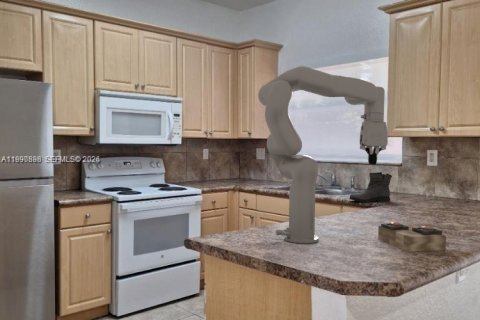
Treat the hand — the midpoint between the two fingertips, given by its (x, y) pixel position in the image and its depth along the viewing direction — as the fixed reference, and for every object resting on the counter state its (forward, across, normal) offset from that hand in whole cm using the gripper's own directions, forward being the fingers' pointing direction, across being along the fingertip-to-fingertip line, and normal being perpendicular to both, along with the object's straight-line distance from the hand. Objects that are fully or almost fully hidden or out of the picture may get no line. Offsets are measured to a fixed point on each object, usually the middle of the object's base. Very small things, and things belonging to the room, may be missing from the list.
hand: (372, 164), depth 171 cm
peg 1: (+28, +3, -13) cm, 31 cm away
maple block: (+28, +7, -18) cm, 34 cm away
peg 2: (+28, +10, -22) cm, 37 cm away
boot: (+28, +47, +98) cm, 113 cm away
